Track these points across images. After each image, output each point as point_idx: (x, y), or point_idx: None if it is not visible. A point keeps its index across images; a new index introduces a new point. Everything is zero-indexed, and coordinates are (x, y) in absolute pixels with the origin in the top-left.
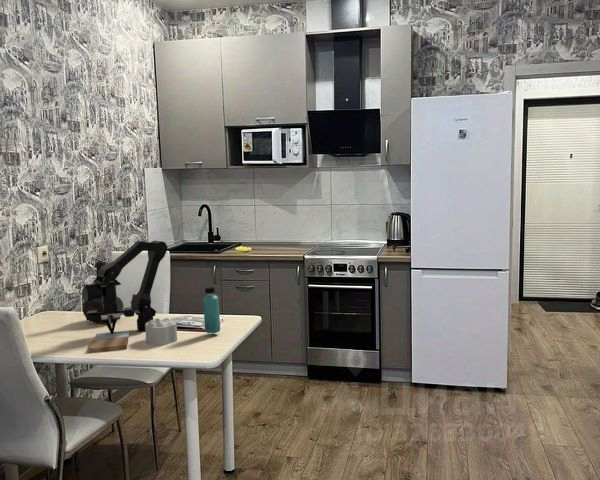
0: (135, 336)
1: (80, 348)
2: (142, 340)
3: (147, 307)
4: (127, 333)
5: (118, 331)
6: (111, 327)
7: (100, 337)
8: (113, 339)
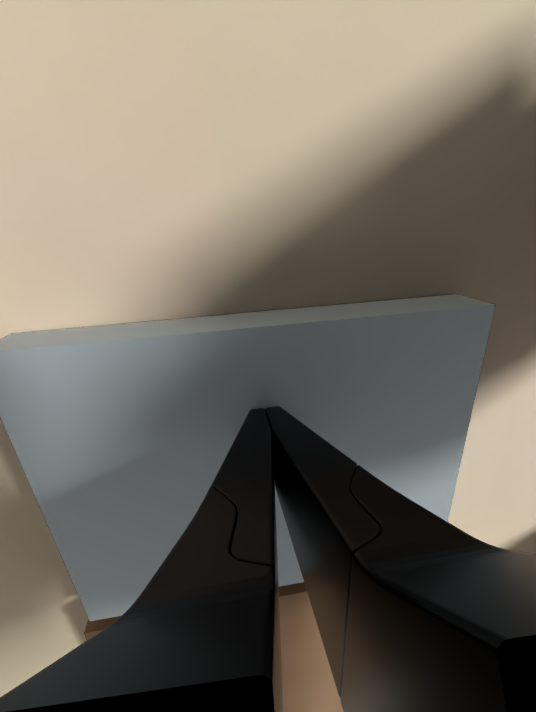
0: (501, 416)
1: (25, 669)
2: (525, 536)
3: None
4: (455, 453)
5: (346, 323)
6: (274, 488)
7: (141, 554)
8: (309, 622)
